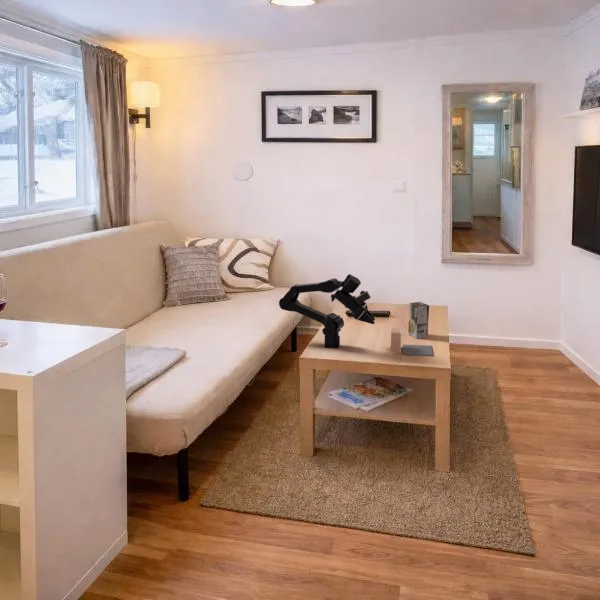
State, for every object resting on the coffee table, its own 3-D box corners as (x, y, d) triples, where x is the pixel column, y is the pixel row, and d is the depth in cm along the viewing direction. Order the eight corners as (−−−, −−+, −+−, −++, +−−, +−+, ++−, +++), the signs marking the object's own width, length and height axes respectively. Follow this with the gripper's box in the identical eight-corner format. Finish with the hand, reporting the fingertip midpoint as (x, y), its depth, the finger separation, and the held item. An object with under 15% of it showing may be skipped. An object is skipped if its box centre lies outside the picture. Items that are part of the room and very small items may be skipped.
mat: (403, 355, 285) (403, 354, 285) (402, 345, 301) (402, 344, 301) (433, 356, 283) (433, 355, 283) (431, 346, 299) (431, 345, 299)
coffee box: (428, 338, 314) (429, 305, 311) (416, 339, 312) (417, 306, 309) (419, 333, 322) (420, 301, 319) (407, 334, 320) (408, 302, 317)
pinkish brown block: (390, 352, 289) (391, 333, 287) (390, 346, 299) (391, 327, 297) (400, 353, 288) (401, 333, 286) (400, 347, 298) (401, 328, 296)
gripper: (357, 288, 282) (385, 311, 281) (359, 283, 300) (385, 304, 300) (341, 308, 284) (369, 330, 284) (344, 302, 302) (370, 323, 302)
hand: (374, 321), depth 292 cm, fingers open, 9 cm apart
